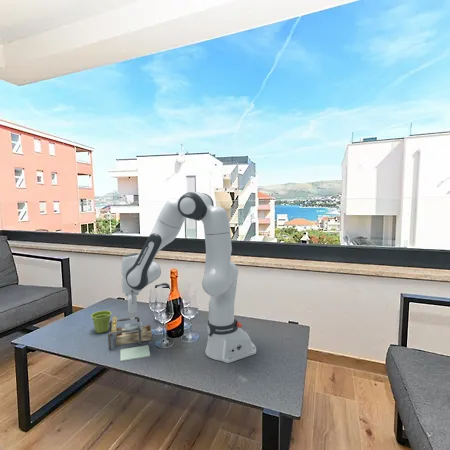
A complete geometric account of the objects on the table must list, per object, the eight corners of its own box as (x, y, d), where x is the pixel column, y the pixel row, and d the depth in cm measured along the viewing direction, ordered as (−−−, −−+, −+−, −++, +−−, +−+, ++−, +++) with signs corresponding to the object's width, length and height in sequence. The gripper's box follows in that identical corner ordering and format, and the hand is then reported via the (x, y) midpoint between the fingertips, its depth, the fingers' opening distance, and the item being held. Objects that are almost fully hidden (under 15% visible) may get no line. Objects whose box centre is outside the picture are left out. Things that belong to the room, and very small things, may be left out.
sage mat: (148, 346, 132) (148, 345, 132) (150, 356, 124) (150, 355, 124) (120, 350, 128) (120, 349, 128) (120, 361, 120) (120, 360, 120)
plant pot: (98, 326, 152) (97, 310, 152) (115, 326, 152) (114, 310, 151) (88, 334, 143) (87, 317, 142) (106, 335, 142) (105, 318, 141)
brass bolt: (117, 318, 143) (116, 314, 143) (116, 332, 129) (116, 327, 129) (112, 319, 142) (112, 314, 142) (111, 332, 128) (111, 327, 128)
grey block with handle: (142, 329, 142) (141, 320, 142) (142, 333, 138) (142, 323, 138) (124, 332, 139) (124, 322, 139) (124, 335, 136) (124, 326, 135)
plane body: (149, 329, 148) (149, 315, 148) (152, 342, 135) (151, 326, 134) (110, 335, 142) (109, 320, 141) (108, 349, 129) (107, 333, 128)
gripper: (140, 294, 128) (140, 324, 129) (137, 280, 147) (138, 306, 149) (124, 295, 126) (125, 325, 127) (124, 281, 145) (125, 308, 147)
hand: (132, 315), depth 138 cm, fingers open, 8 cm apart
